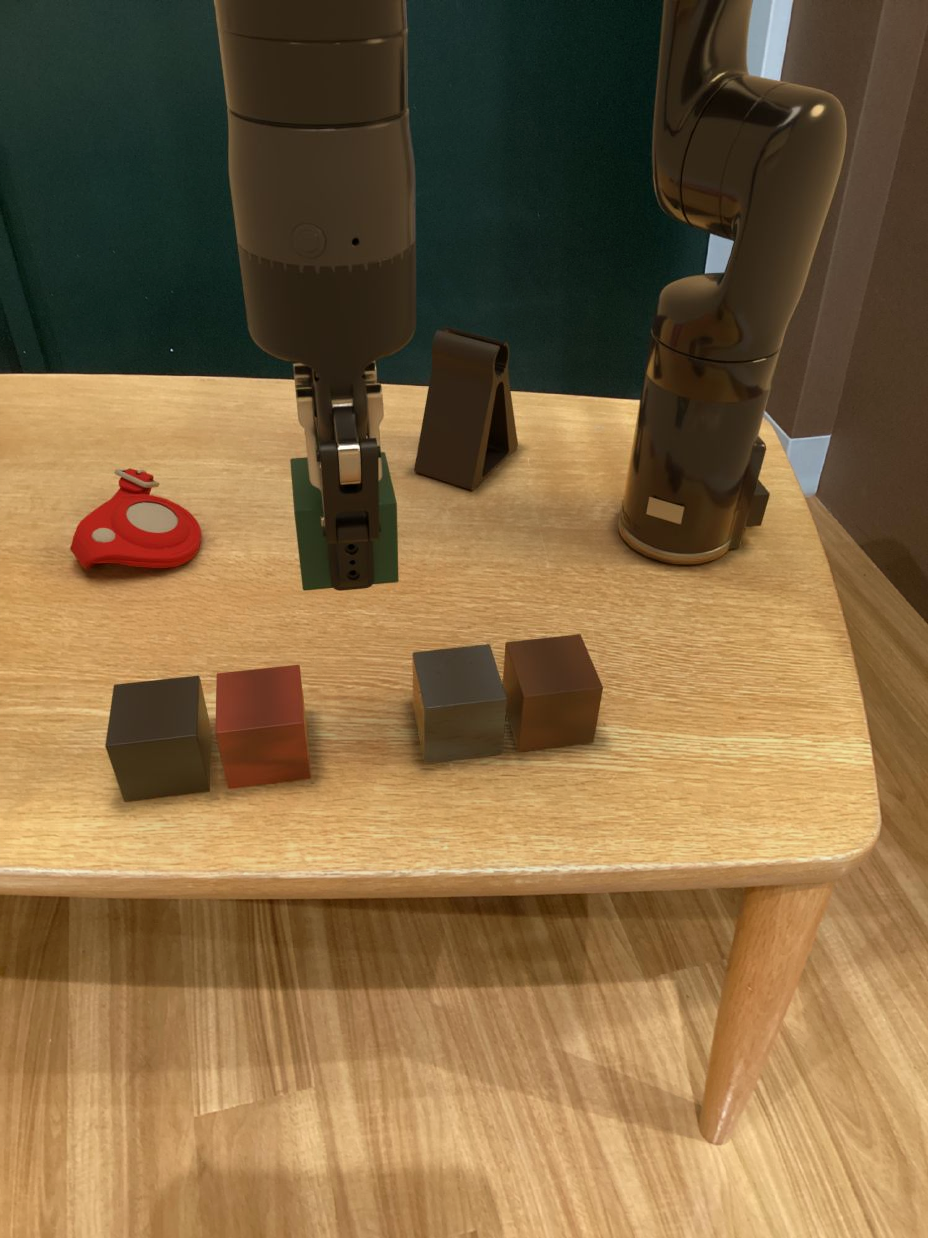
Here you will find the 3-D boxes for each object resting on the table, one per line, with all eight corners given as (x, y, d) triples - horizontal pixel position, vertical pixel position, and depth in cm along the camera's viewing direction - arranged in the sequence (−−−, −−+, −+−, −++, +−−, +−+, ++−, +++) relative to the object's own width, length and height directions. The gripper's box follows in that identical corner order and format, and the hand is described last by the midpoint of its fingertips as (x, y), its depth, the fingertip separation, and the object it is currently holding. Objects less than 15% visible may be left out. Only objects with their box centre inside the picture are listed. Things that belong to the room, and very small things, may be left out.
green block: (387, 528, 52) (385, 451, 49) (398, 582, 48) (397, 502, 45) (298, 536, 51) (289, 457, 48) (302, 591, 48) (294, 510, 44)
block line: (572, 688, 63) (580, 633, 60) (594, 743, 59) (603, 687, 56) (131, 740, 58) (113, 684, 55) (124, 803, 55) (104, 746, 51)
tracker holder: (228, 536, 73) (111, 563, 66) (218, 577, 76) (103, 607, 69) (149, 447, 78) (31, 464, 71) (141, 489, 81) (27, 509, 74)
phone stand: (471, 492, 81) (475, 363, 73) (413, 472, 83) (412, 346, 76) (518, 448, 87) (526, 325, 79) (463, 431, 89) (466, 310, 82)
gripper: (442, 286, 34) (437, 633, 45) (394, 176, 45) (400, 478, 56) (234, 295, 33) (282, 648, 44) (236, 180, 44) (274, 487, 55)
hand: (348, 552), depth 50 cm, fingers closed on green block, 5 cm apart
